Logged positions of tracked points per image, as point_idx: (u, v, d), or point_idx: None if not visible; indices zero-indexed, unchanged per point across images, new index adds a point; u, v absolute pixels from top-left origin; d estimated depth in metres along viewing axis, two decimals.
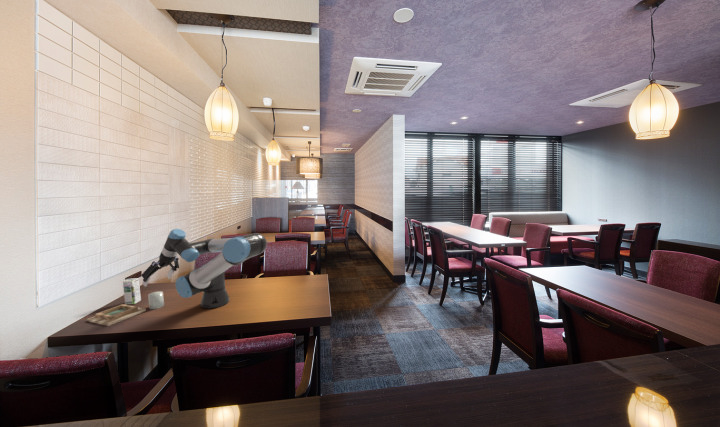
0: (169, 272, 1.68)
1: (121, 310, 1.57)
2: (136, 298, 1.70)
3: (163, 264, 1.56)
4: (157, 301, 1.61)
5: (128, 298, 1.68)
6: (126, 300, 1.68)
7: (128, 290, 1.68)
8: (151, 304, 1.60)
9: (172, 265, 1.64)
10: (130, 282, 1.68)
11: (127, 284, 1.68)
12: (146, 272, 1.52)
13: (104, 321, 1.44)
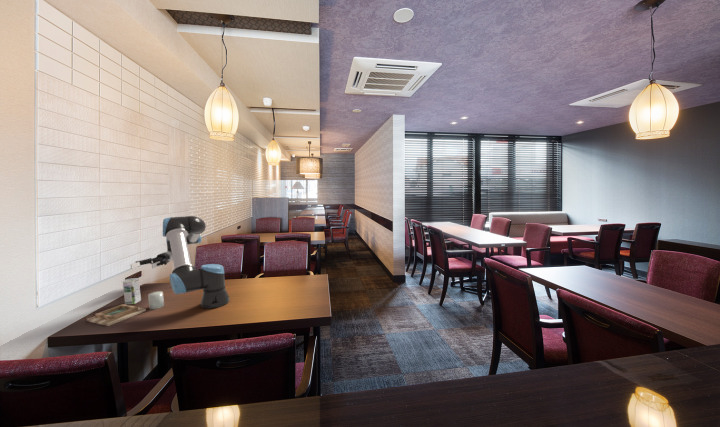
0: None
1: (121, 310, 1.57)
2: (136, 298, 1.70)
3: (155, 258, 1.94)
4: (157, 301, 1.61)
5: (128, 298, 1.68)
6: (126, 300, 1.68)
7: (128, 290, 1.68)
8: (151, 304, 1.60)
9: (161, 259, 1.90)
10: (130, 282, 1.67)
11: (127, 284, 1.68)
12: None
13: (104, 321, 1.44)
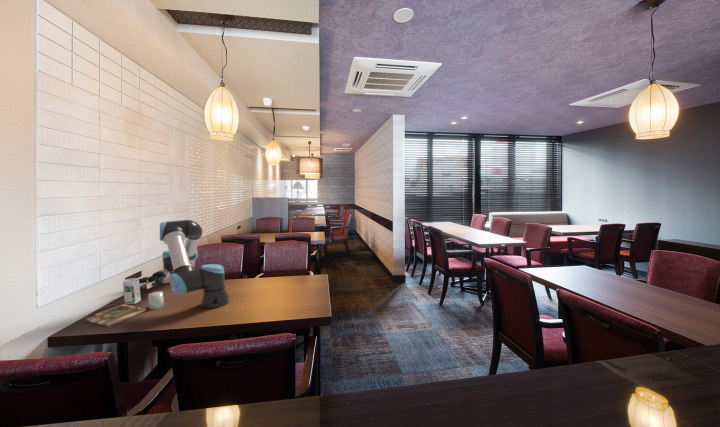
0: None
1: (121, 310, 1.57)
2: (136, 298, 1.70)
3: None
4: (157, 301, 1.61)
5: (128, 298, 1.68)
6: (126, 300, 1.68)
7: (128, 290, 1.68)
8: (151, 304, 1.60)
9: (156, 278, 1.86)
10: (130, 282, 1.67)
11: (127, 284, 1.68)
12: None
13: (104, 321, 1.44)
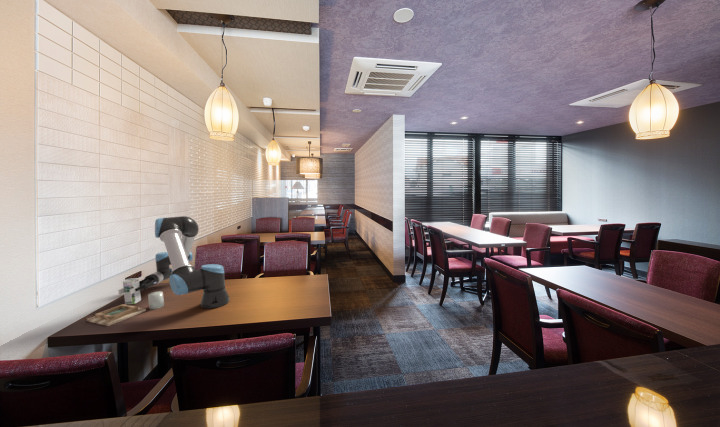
0: None
1: (121, 310, 1.57)
2: (136, 298, 1.70)
3: (142, 280, 1.82)
4: (157, 301, 1.61)
5: (128, 298, 1.68)
6: (126, 300, 1.68)
7: (128, 290, 1.68)
8: (151, 304, 1.60)
9: (145, 282, 1.78)
10: (130, 281, 1.67)
11: (127, 284, 1.68)
12: None
13: (104, 321, 1.44)
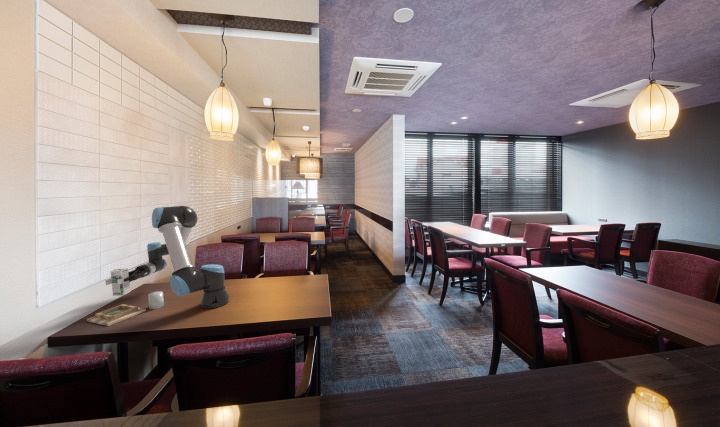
0: None
1: (121, 310, 1.57)
2: (124, 289, 1.60)
3: (132, 271, 1.71)
4: (157, 301, 1.61)
5: (116, 288, 1.58)
6: (114, 291, 1.58)
7: (116, 280, 1.57)
8: (151, 304, 1.60)
9: (135, 273, 1.67)
10: (118, 271, 1.57)
11: (115, 274, 1.57)
12: None
13: (104, 321, 1.44)
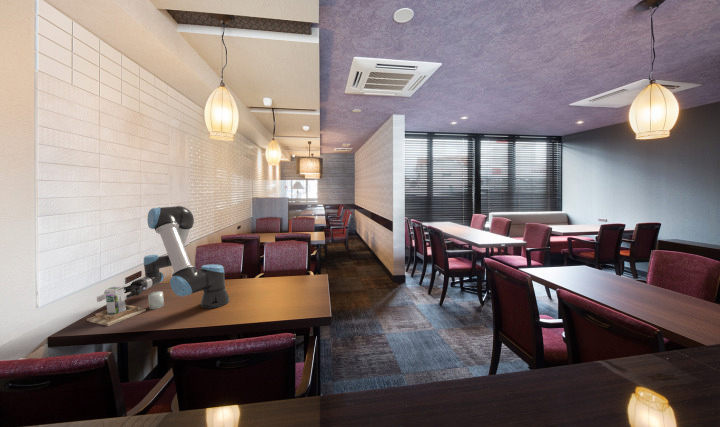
0: None
1: None
2: (120, 309, 1.52)
3: (128, 286, 1.64)
4: (157, 301, 1.61)
5: (111, 308, 1.50)
6: (109, 311, 1.50)
7: (111, 300, 1.49)
8: (151, 304, 1.60)
9: (134, 288, 1.60)
10: (113, 290, 1.49)
11: (109, 293, 1.49)
12: None
13: (104, 321, 1.44)
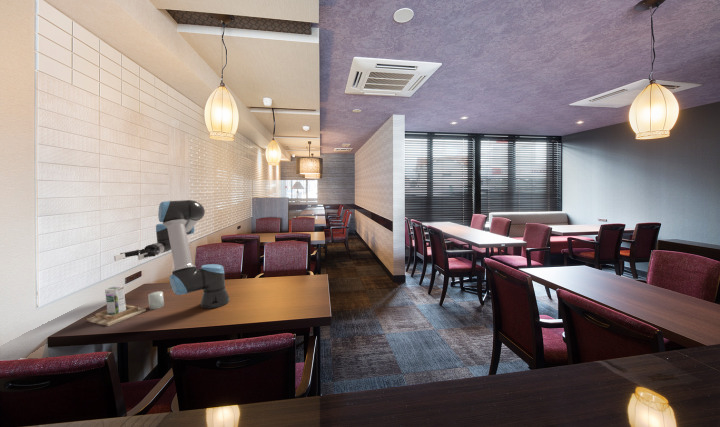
0: None
1: None
2: (120, 309, 1.52)
3: None
4: (157, 301, 1.61)
5: (111, 308, 1.50)
6: (109, 311, 1.50)
7: (111, 300, 1.49)
8: (151, 304, 1.60)
9: (149, 251, 1.71)
10: (113, 290, 1.49)
11: (110, 293, 1.49)
12: None
13: (104, 321, 1.44)
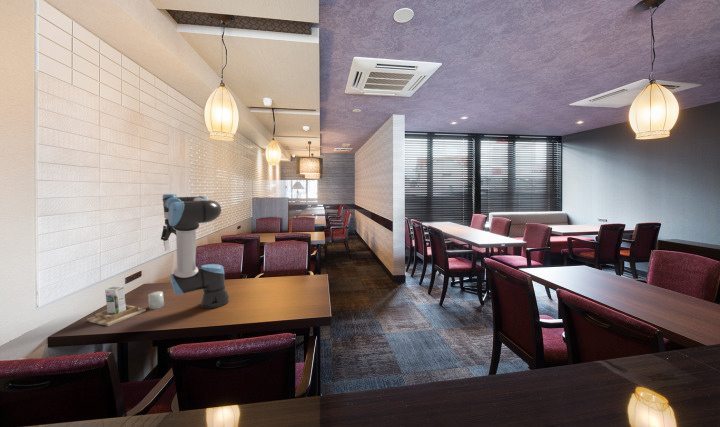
0: None
1: None
2: (120, 309, 1.52)
3: (168, 228, 1.78)
4: (157, 301, 1.61)
5: (111, 308, 1.50)
6: (109, 311, 1.50)
7: (111, 300, 1.49)
8: (151, 304, 1.60)
9: (176, 234, 1.76)
10: (113, 290, 1.49)
11: (110, 293, 1.49)
12: None
13: (104, 321, 1.44)
